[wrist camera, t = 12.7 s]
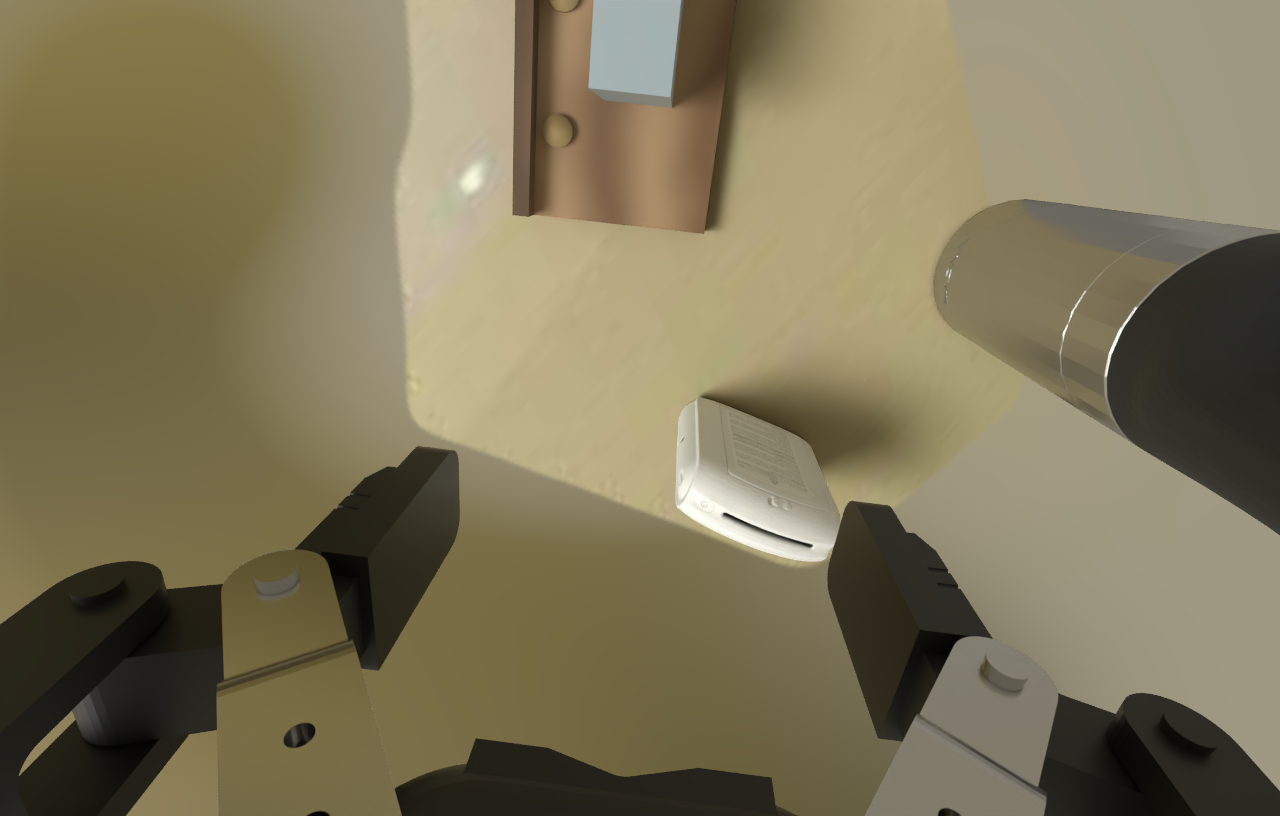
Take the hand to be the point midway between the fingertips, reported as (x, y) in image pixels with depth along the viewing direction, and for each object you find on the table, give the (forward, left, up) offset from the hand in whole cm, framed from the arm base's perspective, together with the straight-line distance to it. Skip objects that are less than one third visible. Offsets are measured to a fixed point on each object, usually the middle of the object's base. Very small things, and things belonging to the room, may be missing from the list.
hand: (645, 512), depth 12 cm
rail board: (+4, -11, -30) cm, 32 cm away
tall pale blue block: (+3, -13, -29) cm, 32 cm away
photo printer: (-7, +12, -30) cm, 33 cm away
